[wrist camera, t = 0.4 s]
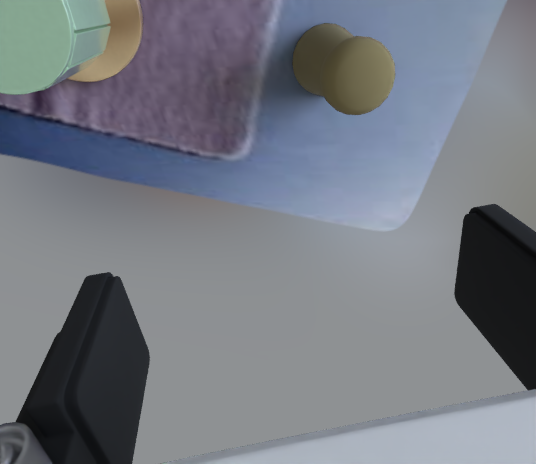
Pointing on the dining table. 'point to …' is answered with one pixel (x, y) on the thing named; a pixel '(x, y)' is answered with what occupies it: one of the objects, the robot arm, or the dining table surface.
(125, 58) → the disc
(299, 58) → the olive pawn figure
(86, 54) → the green grooved cylinder
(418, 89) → the dining table surface
